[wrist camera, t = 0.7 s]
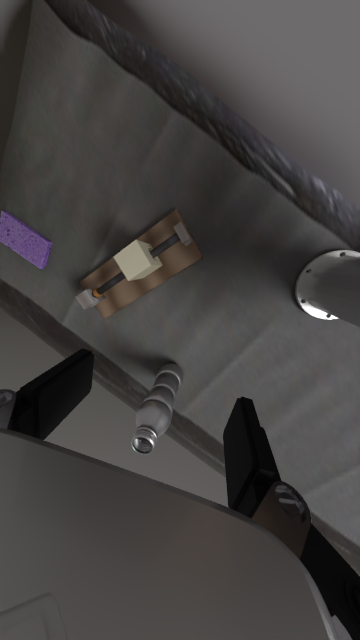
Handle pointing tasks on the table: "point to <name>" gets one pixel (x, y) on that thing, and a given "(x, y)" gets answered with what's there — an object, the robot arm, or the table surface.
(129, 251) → the cream foam block
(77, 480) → the robot arm
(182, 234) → the wooden linear slide
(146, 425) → the plastic bottle
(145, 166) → the table surface
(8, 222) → the sponges
